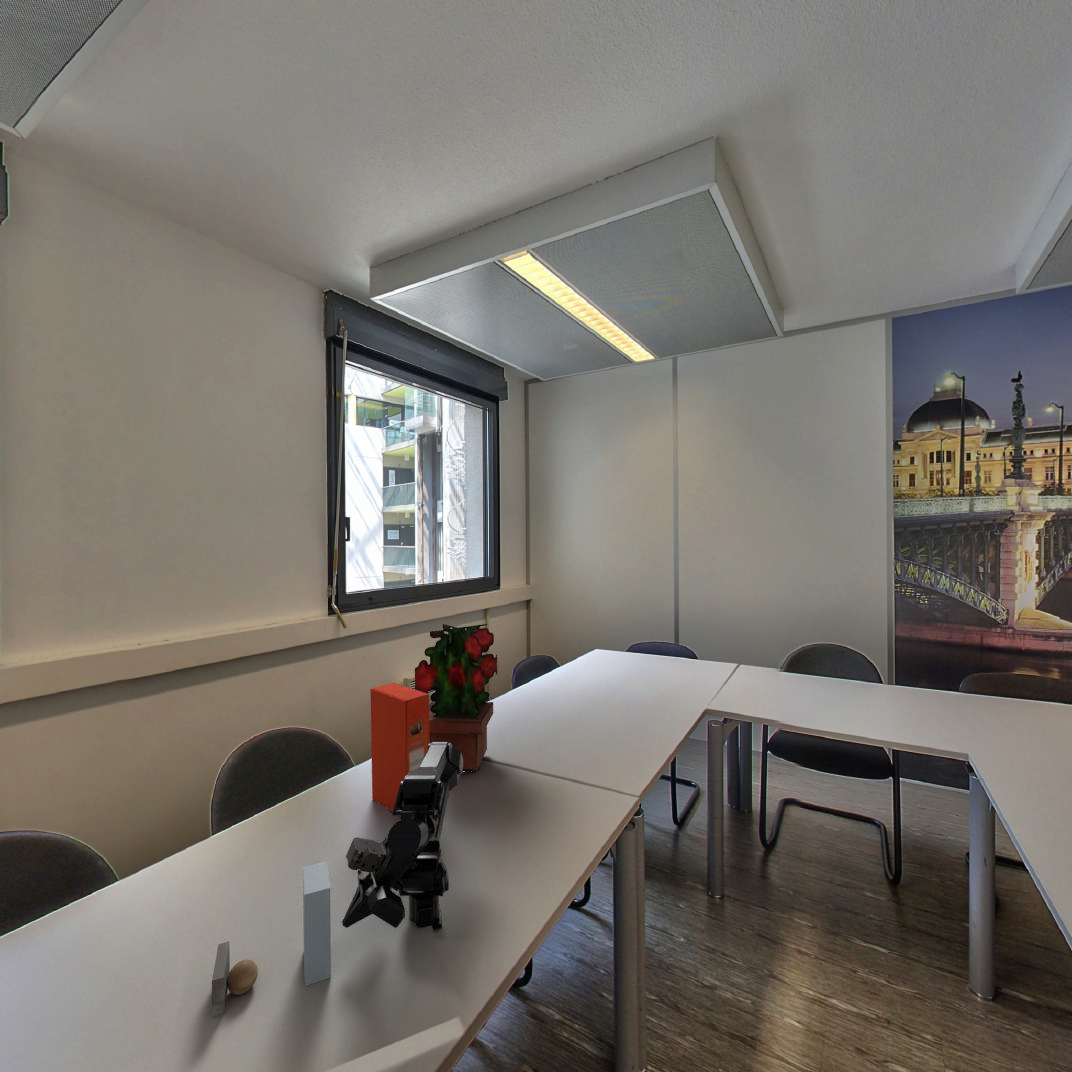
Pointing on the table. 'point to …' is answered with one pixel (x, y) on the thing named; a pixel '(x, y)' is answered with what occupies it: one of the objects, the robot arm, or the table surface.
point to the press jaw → (316, 923)
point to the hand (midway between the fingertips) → (344, 925)
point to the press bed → (220, 979)
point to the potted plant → (459, 689)
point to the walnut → (242, 977)
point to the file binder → (396, 738)
